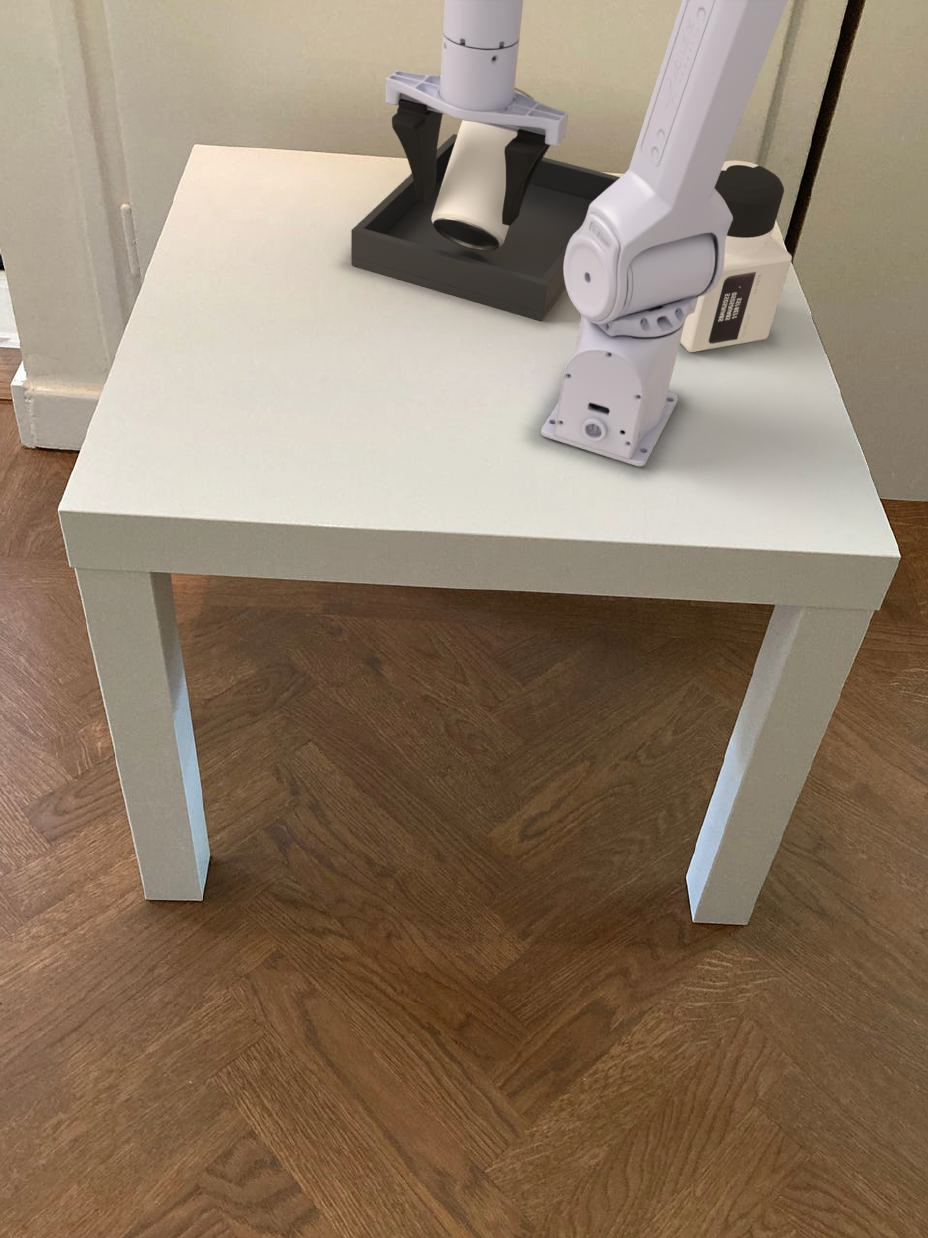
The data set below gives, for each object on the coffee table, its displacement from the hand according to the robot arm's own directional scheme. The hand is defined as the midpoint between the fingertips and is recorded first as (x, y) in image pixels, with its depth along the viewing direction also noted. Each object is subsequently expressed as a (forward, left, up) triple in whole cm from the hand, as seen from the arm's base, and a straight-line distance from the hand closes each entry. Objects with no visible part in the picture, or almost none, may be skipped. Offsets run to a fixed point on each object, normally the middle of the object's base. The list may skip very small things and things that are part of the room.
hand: (467, 207), depth 95 cm
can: (0, 0, -3) cm, 3 cm away
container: (+3, -21, -6) cm, 22 cm away
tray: (+7, 0, -6) cm, 9 cm away
